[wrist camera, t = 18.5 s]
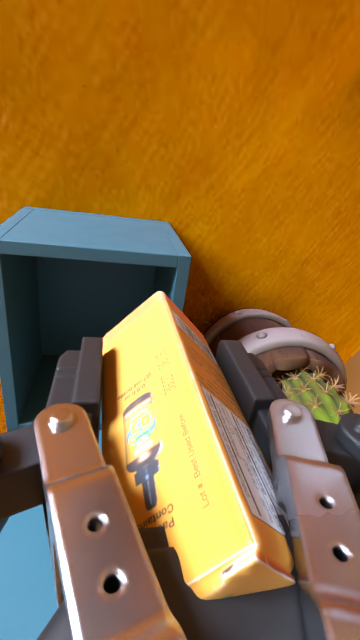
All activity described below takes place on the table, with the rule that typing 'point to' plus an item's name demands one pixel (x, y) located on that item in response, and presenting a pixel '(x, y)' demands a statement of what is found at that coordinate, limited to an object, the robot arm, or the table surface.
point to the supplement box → (190, 455)
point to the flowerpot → (290, 360)
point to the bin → (73, 291)
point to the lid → (26, 575)
